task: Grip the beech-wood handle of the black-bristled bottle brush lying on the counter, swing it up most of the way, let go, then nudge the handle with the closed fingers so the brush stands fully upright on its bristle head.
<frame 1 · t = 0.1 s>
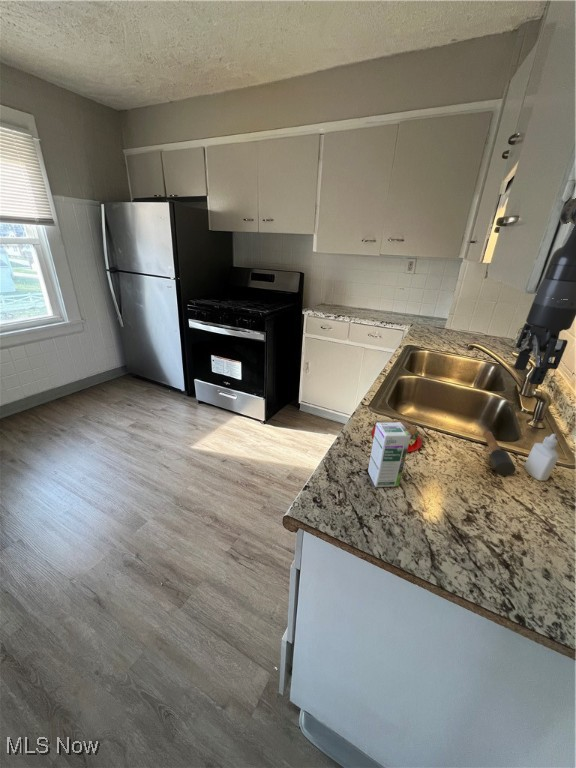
hand: (526, 376, 70), 26 cm above the counter, tool pointing down, fingers open, 8 cm apart
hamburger: (396, 438, 91), on the counter
syrup box: (382, 479, 75), on the counter
eye dropper bottle: (534, 474, 79), on the counter
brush: (495, 450, 83), point 2 cm above the counter, hinge at 88.1°
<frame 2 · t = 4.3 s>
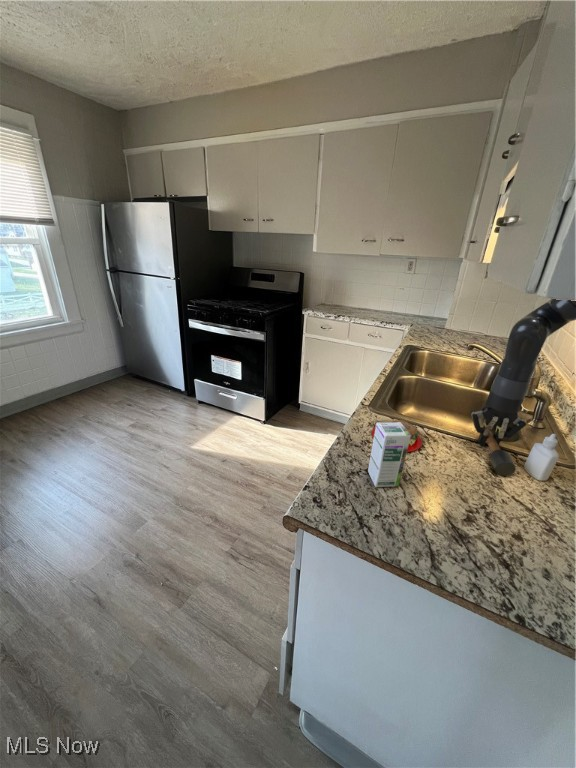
hand: (487, 445, 89), 0 cm above the counter, tool pointing down, fingers closed on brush, 2 cm apart
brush: (495, 450, 83), point 2 cm above the counter, hinge at 88.1°, touching gripper
everything else where it was.
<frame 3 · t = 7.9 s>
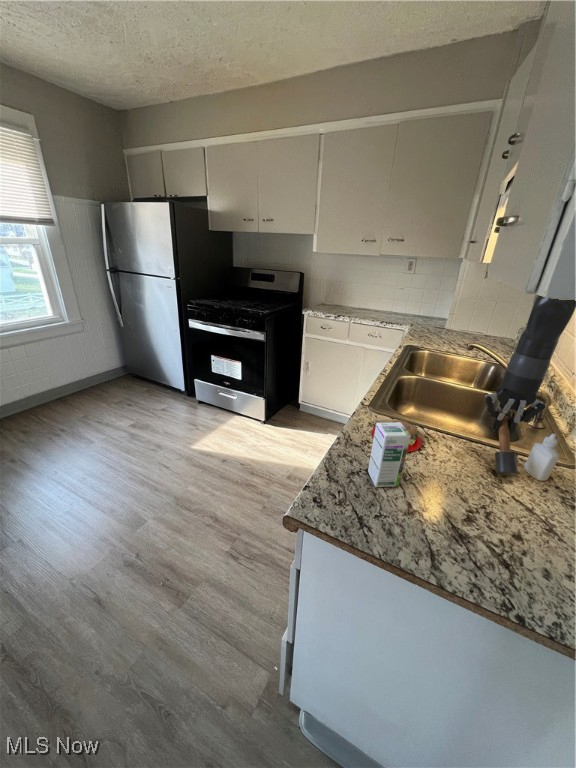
hand: (501, 431, 82), 8 cm above the counter, tool pointing down, fingers closed on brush, 2 cm apart
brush: (504, 444, 79), point 6 cm above the counter, hinge at 51.2°, touching gripper
everything else where it was.
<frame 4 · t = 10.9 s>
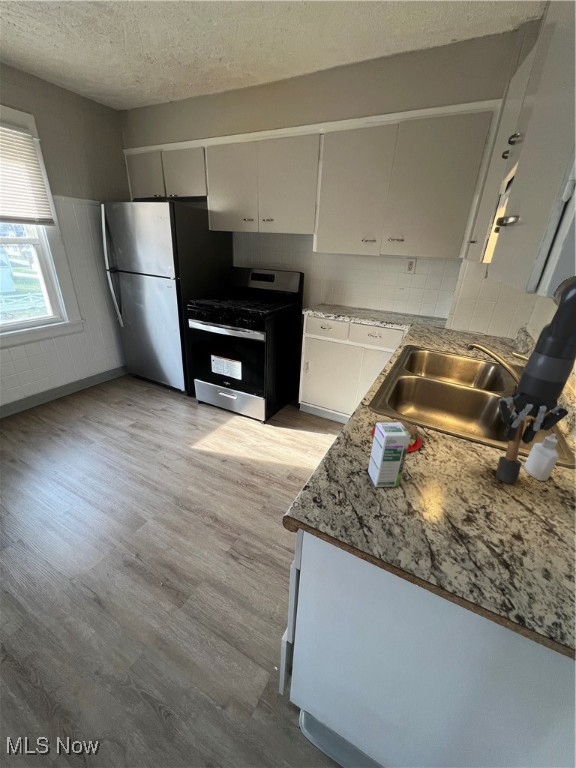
hand: (516, 440, 74), 11 cm above the counter, tool pointing down, fingers open, 3 cm apart
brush: (512, 449, 75), point 8 cm above the counter, hinge at 18.6°
everything else where it was.
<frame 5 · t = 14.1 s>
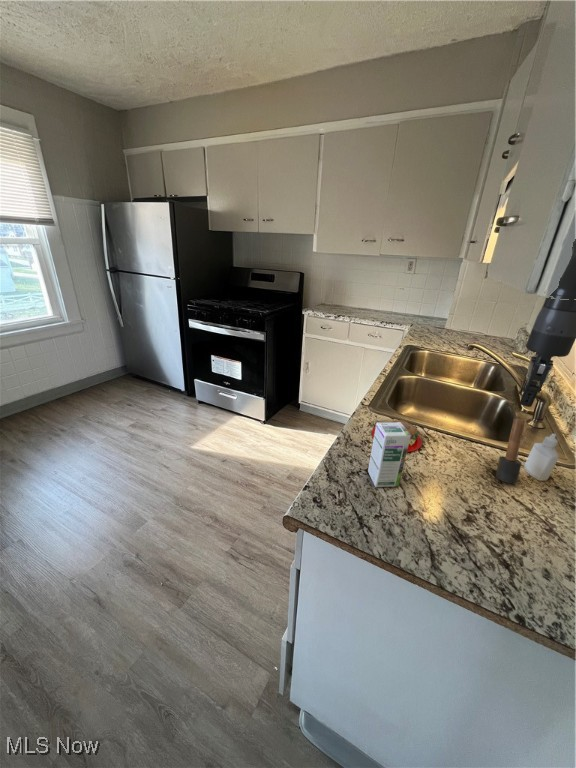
hand: (526, 398, 72), 20 cm above the counter, tool pointing down, fingers open, 8 cm apart
nothing on the counter moved.
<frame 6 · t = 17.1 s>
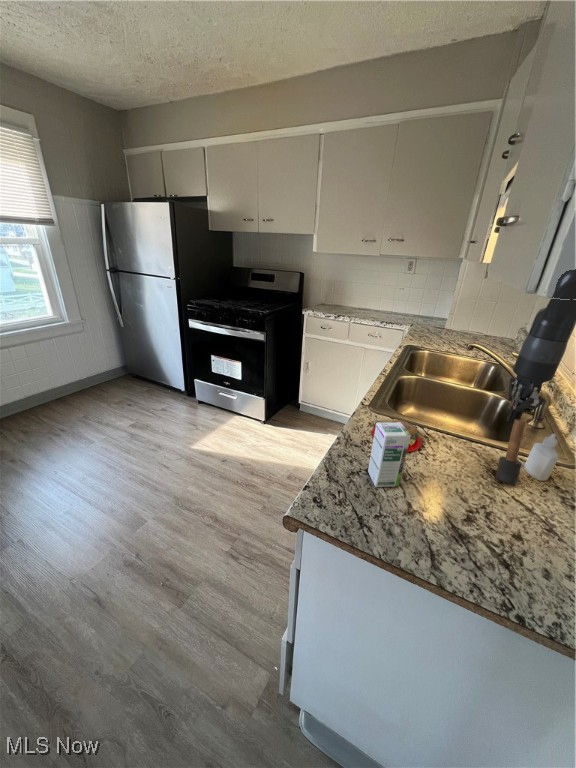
hand: (511, 421, 77), 13 cm above the counter, tool pointing down, fingers closed
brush: (513, 450, 75), point 8 cm above the counter, hinge at 17.0°, touching gripper
everything else where it was.
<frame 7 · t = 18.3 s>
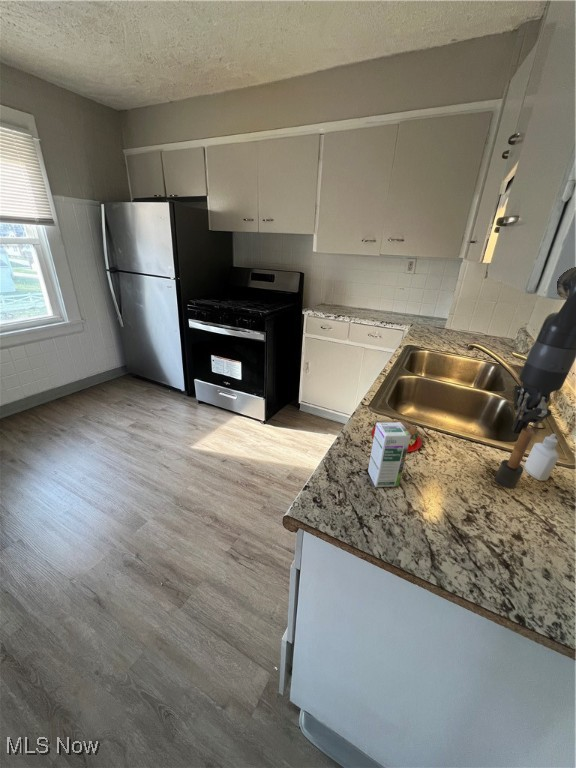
hand: (517, 431, 73), 12 cm above the counter, tool pointing down, fingers closed
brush: (516, 457, 73), point 7 cm above the counter, hinge at -0.2°, touching gripper
everything else where it was.
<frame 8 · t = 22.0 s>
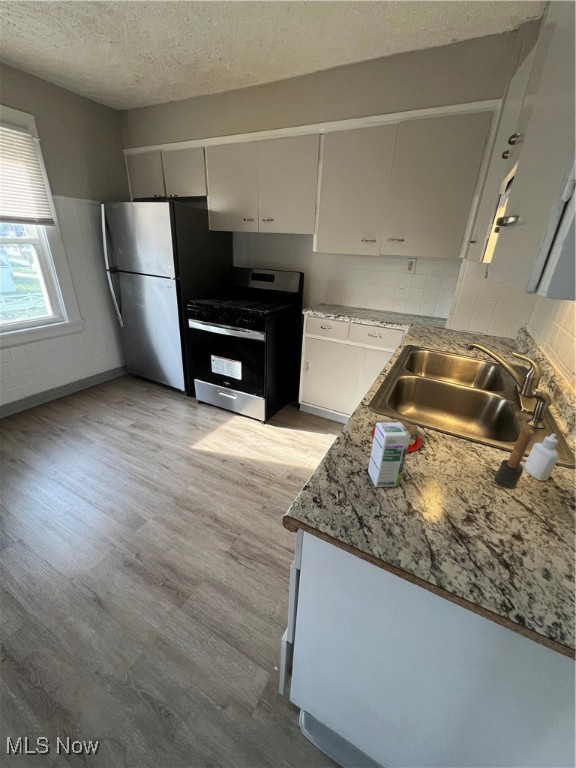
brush: (516, 457, 73), point 7 cm above the counter, hinge at 0.0°
everything else where it was.
at the end: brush at +0° (first picture: +88°); the gripper is holding nothing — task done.
